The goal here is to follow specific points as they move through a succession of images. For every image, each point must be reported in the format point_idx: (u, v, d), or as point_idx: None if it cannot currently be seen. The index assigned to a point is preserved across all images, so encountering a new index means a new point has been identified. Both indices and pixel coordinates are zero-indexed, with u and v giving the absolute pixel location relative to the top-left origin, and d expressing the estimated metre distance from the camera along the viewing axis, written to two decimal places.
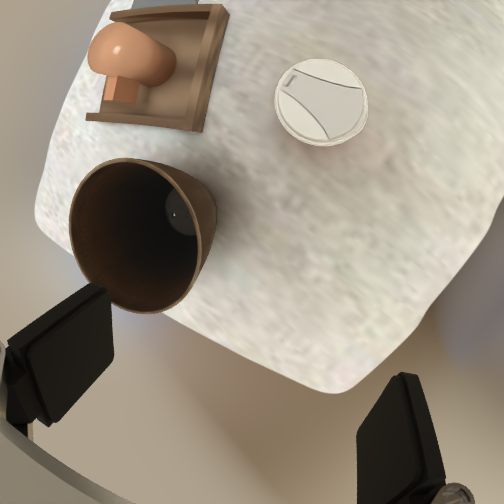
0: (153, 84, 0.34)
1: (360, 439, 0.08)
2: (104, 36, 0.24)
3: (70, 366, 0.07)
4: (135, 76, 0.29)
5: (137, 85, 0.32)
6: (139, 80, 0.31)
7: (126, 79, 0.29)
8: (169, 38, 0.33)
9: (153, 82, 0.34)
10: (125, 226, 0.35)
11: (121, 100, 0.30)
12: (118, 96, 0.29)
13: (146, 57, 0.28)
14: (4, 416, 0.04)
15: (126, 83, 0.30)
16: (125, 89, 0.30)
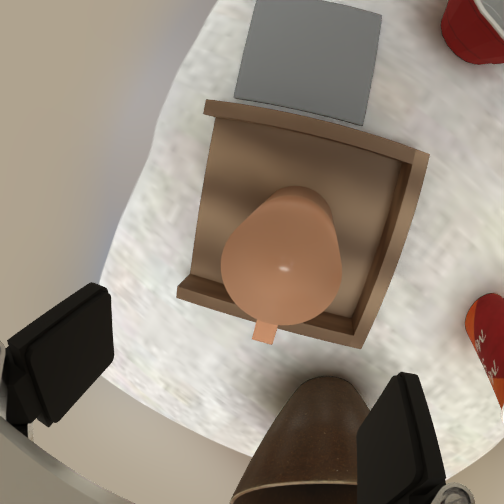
0: None
1: (360, 439, 0.08)
2: (264, 240, 0.16)
3: (70, 366, 0.07)
4: None
5: None
6: None
7: None
8: (319, 176, 0.24)
9: None
10: None
11: None
12: None
13: None
14: (4, 416, 0.04)
15: None
16: None
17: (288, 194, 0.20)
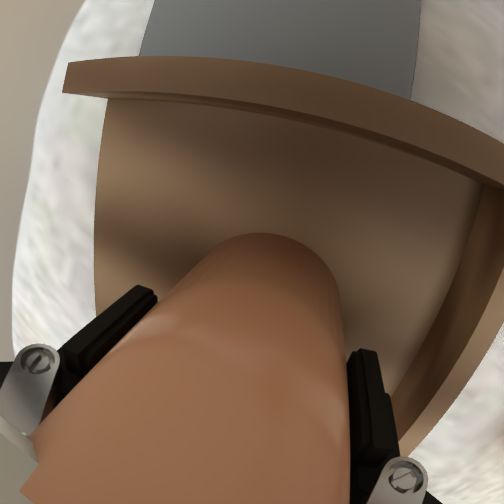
0: None
1: None
2: None
3: None
4: None
5: None
6: None
7: None
8: (314, 212, 0.11)
9: None
10: None
11: None
12: None
13: None
14: None
15: None
16: None
17: (217, 289, 0.07)
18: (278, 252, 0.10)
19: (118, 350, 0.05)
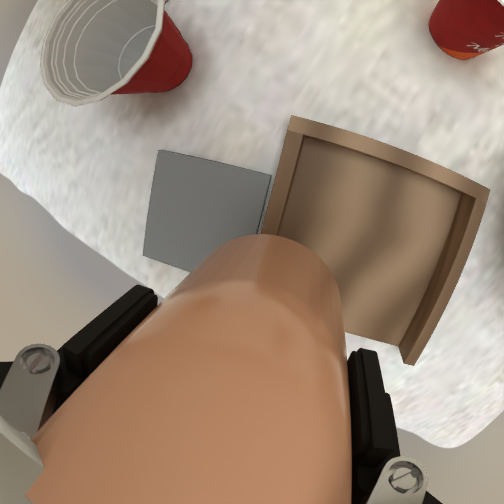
0: None
1: None
2: None
3: None
4: None
5: None
6: None
7: None
8: (320, 220, 0.26)
9: None
10: None
11: None
12: None
13: None
14: None
15: None
16: None
17: (219, 291, 0.07)
18: (279, 253, 0.10)
19: (120, 352, 0.05)
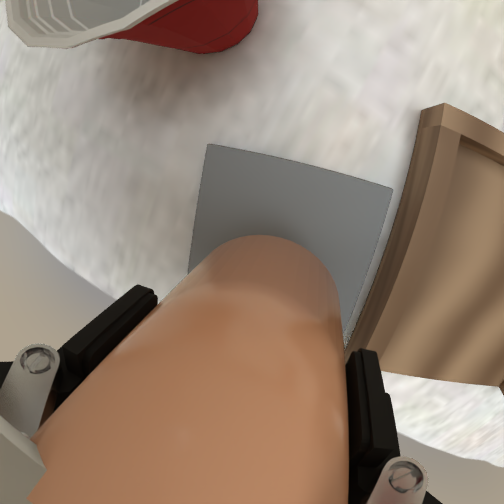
0: None
1: None
2: None
3: None
4: None
5: None
6: None
7: None
8: (451, 253, 0.16)
9: None
10: None
11: None
12: None
13: None
14: None
15: None
16: None
17: (216, 293, 0.07)
18: (277, 254, 0.10)
19: (118, 353, 0.05)
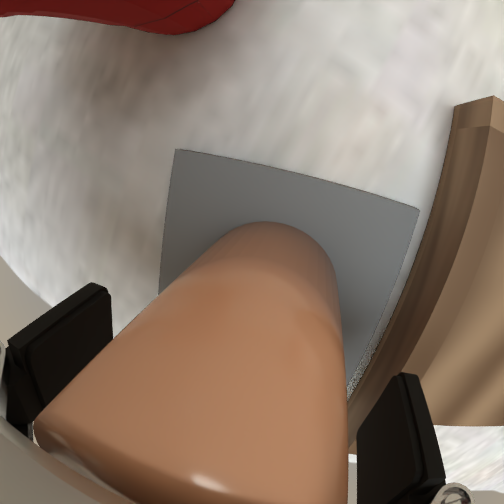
0: None
1: (360, 439, 0.08)
2: (106, 469, 0.04)
3: (70, 366, 0.07)
4: None
5: None
6: None
7: None
8: (485, 289, 0.12)
9: None
10: None
11: None
12: None
13: None
14: (4, 416, 0.04)
15: None
16: None
17: (231, 263, 0.08)
18: (281, 236, 0.11)
19: (149, 310, 0.07)
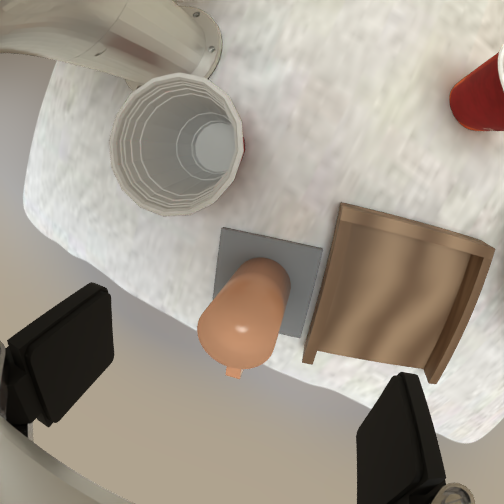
0: None
1: (360, 439, 0.08)
2: (223, 318, 0.23)
3: (70, 366, 0.07)
4: None
5: None
6: None
7: None
8: (363, 282, 0.31)
9: None
10: None
11: None
12: (243, 368, 0.28)
13: None
14: (4, 416, 0.04)
15: None
16: None
17: (247, 274, 0.28)
18: (264, 264, 0.31)
19: (226, 287, 0.27)
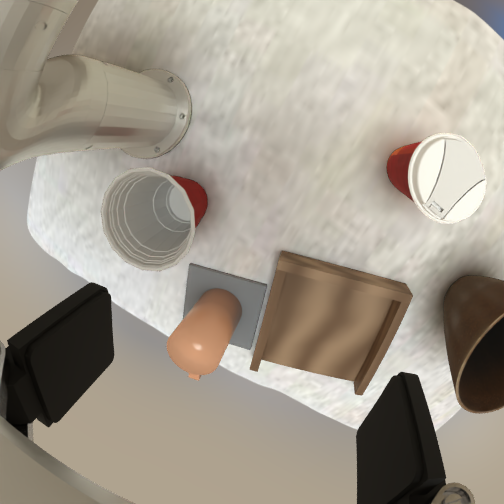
0: None
1: (360, 439, 0.08)
2: (183, 340, 0.33)
3: (70, 366, 0.07)
4: None
5: None
6: None
7: None
8: (298, 312, 0.41)
9: None
10: (476, 361, 0.30)
11: None
12: None
13: (225, 348, 0.36)
14: (4, 416, 0.04)
15: None
16: None
17: (205, 305, 0.37)
18: (220, 295, 0.40)
19: (188, 316, 0.36)
